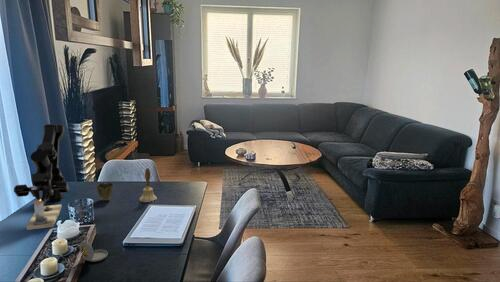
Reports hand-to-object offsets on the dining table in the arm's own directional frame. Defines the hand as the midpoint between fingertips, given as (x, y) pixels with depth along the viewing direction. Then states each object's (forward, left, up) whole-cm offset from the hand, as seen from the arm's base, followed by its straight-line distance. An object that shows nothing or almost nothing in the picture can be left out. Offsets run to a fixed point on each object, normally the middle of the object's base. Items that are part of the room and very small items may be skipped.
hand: (40, 208), depth 133 cm
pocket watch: (+29, +27, -7) cm, 41 cm away
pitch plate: (-6, -1, -7) cm, 9 cm away
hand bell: (-23, +39, -7) cm, 46 cm away
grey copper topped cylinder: (+2, 0, -5) cm, 6 cm away
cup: (-24, +19, -7) cm, 31 cm away
